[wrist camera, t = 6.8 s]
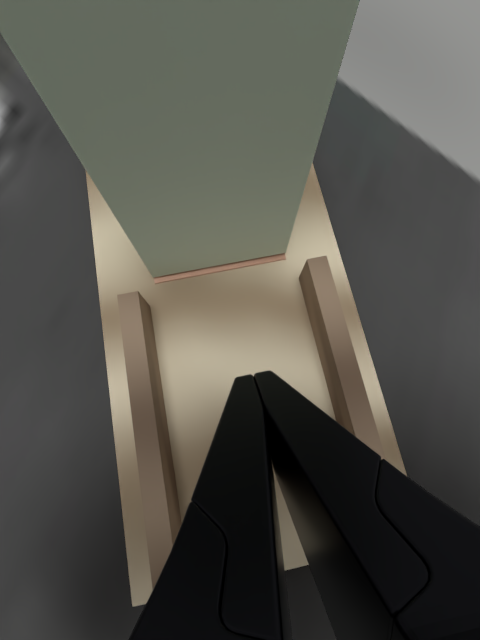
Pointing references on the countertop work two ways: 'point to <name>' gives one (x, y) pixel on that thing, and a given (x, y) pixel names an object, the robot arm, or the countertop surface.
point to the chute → (222, 366)
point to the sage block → (188, 112)
